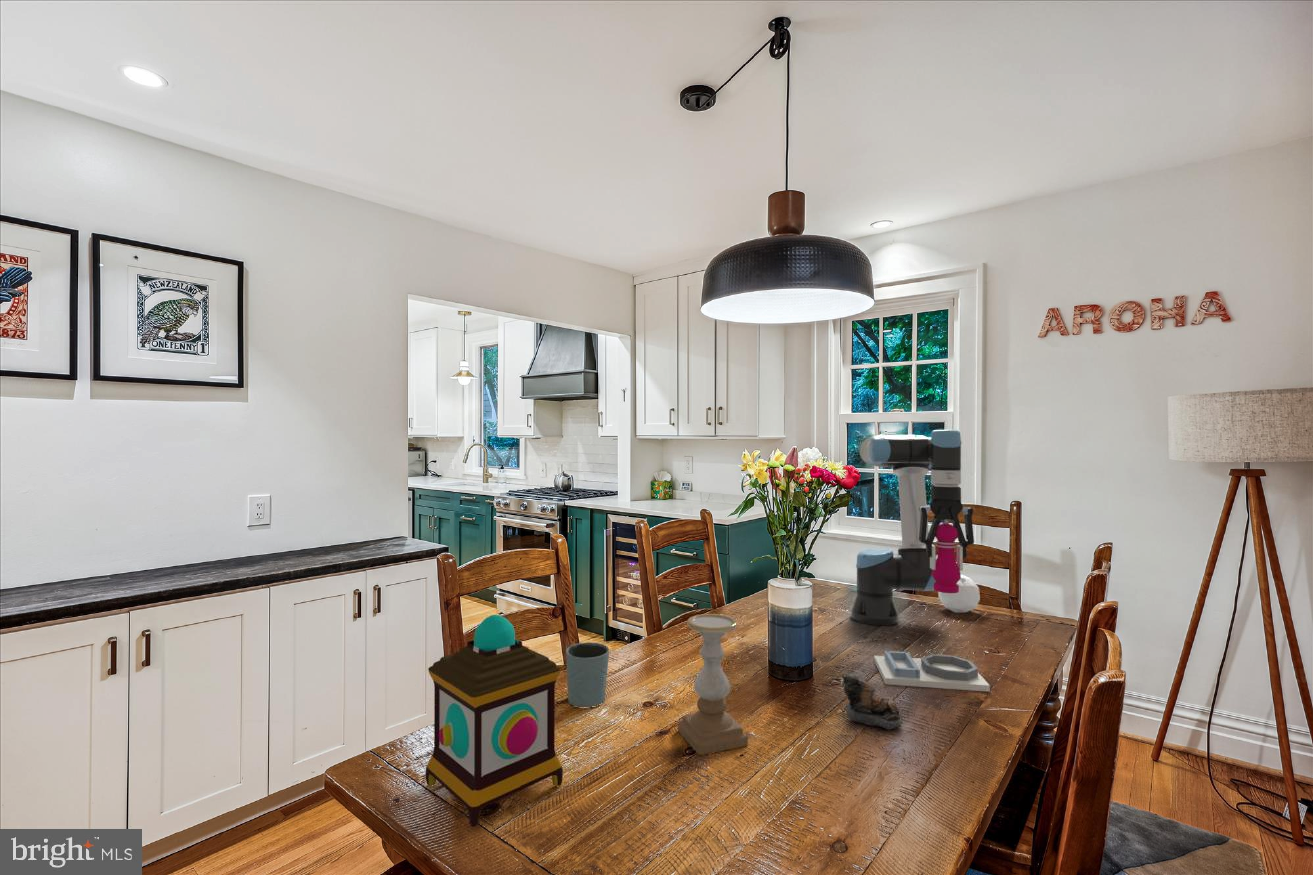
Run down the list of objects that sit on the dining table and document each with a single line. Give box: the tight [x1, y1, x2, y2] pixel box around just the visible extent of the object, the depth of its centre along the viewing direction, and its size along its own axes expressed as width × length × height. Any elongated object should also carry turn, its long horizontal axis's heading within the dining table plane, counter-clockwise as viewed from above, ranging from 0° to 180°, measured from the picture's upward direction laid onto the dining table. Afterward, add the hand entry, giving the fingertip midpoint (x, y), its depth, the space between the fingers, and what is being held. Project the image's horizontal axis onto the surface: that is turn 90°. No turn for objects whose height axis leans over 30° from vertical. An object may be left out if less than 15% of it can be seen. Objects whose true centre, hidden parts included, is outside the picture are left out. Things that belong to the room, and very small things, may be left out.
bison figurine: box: [842, 673, 903, 730], centre depth 128 cm, size 12×7×10 cm, turn 70°
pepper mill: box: [932, 519, 962, 593], centre depth 166 cm, size 7×7×20 cm
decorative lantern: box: [425, 614, 564, 828], centre depth 105 cm, size 20×20×30 cm
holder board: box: [873, 650, 991, 693], centre depth 155 cm, size 16×24×4 cm, turn 80°
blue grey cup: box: [565, 642, 610, 707], centre depth 139 cm, size 10×10×12 cm
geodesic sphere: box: [937, 574, 981, 614], centre depth 213 cm, size 14×14×14 cm
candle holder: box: [677, 613, 749, 756], centre depth 122 cm, size 11×11×24 cm
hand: (946, 569), depth 166 cm, fingers closed on pepper mill, 6 cm apart
